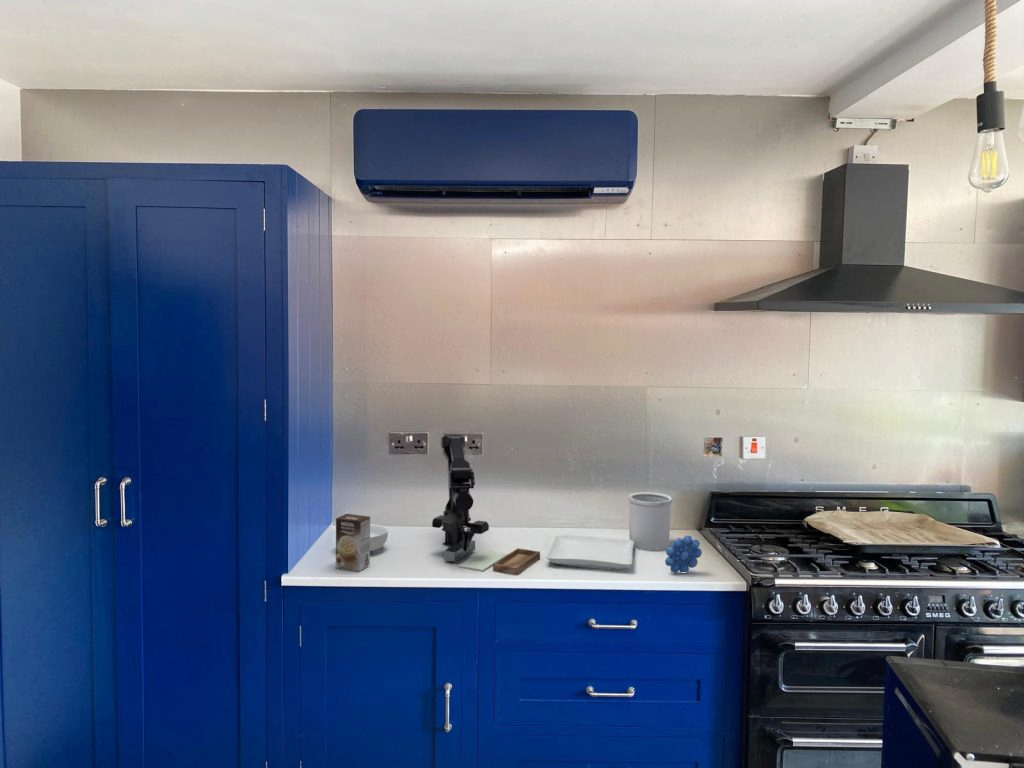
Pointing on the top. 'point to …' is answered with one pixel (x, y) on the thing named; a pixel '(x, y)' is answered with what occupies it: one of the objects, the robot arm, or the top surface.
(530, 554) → the walnut slot tray
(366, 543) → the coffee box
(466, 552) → the gunmetal bar
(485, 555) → the sage mat
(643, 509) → the utensil holder
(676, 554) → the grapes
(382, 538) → the cereal bowl
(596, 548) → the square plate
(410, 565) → the top surface
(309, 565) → the top surface
